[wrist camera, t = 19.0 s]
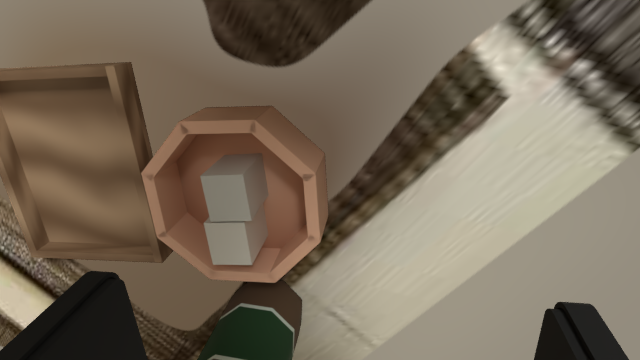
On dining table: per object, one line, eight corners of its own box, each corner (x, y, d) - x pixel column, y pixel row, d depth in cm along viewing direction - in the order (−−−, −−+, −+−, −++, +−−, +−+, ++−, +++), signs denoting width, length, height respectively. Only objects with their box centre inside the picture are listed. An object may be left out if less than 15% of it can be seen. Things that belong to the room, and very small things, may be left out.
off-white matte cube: (224, 154, 36) (200, 176, 31) (261, 153, 35) (242, 174, 31) (232, 195, 37) (210, 221, 33) (268, 194, 37) (251, 221, 32)
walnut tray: (-15, 69, 37) (-40, 73, 35) (131, 62, 35) (113, 65, 33) (49, 244, 44) (32, 257, 42) (174, 249, 42) (162, 262, 40)
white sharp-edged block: (226, 197, 38) (203, 223, 33) (262, 196, 37) (244, 223, 32) (233, 234, 39) (212, 264, 34) (268, 234, 38) (251, 265, 34)
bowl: (160, 108, 36) (128, 122, 32) (321, 104, 34) (311, 118, 29) (190, 249, 42) (166, 277, 37) (330, 254, 39) (323, 285, 35)
